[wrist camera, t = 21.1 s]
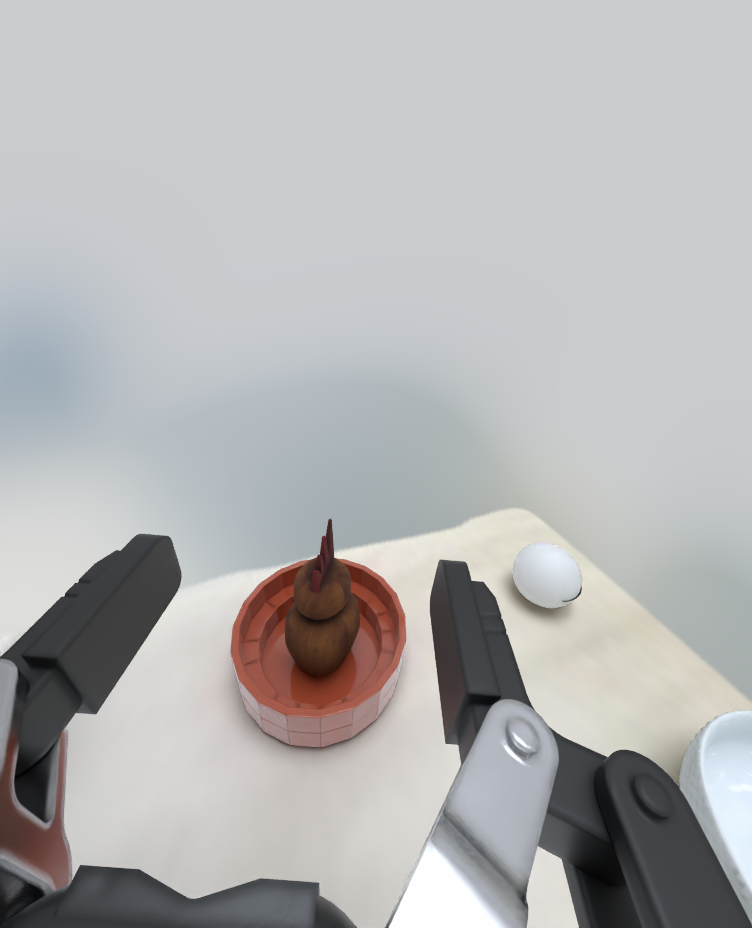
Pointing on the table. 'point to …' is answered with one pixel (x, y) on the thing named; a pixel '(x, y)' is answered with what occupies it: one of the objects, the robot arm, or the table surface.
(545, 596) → the white oval solid
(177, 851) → the table surface
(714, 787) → the cereal bowl
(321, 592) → the wooden figurine
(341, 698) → the bowl
